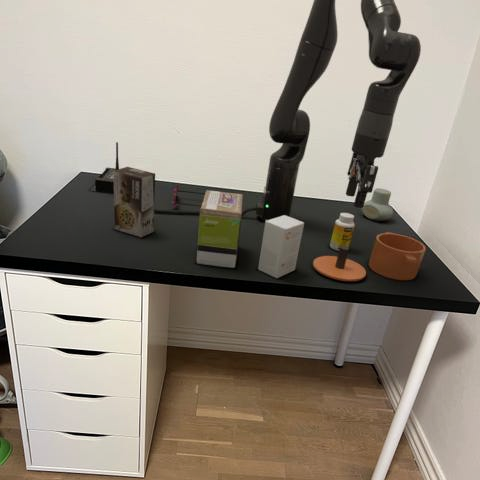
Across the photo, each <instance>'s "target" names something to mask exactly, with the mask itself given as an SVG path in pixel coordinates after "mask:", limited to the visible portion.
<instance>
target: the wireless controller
mask: <svg viewBox="0 0 480 480" xmlns="http://www.w3.org/2000/svg"><path fill="white" fill-rule="evenodd" d="M119 169H120V164H119V142H118V141H117V142H115V168H114V167H106V168H105V169H104V171H102V172H101V174H99V176H97V177H96V178H95V179H94V186H93V187H92V188H91V189H90V191H91V192H96V193H97V192H98V193H105V194H113V195H114V176H113V171H116V170H119Z"/></svg>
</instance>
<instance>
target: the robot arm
mask: <svg viewBox="0 0 480 480" xmlns="http://www.w3.org/2000/svg"><path fill="white" fill-rule="evenodd" d="M360 14H361V18H362V20H363V23H364V27H365V28H366V31H367V42H368V45H367V46H368V50H367V51H368V59H369V62H370V63H371V64H372V65H373V66H374V67H375V68H377V69H381V70H387V71H389V72H388V74H387V76H386V77H385V78H384V79H382V80H375V81H372V82H371V83H369V86H368V88H367V92H366V96H365V99H364V104H363V108H362V110H361V113H360V115H359V119H358V123H357V126H356V130H355V133H354V138H353V142H352V145H351V151H352V156H351V159H350V163H349V166H348V170H347V173H346V175H347V176H348V177H347V179H348V183H347V187H346V190H345V195H346V196H347V197H355V198H354V202H353V206H354V207H355V208H359V209H362V208H363V206H364V203H365V202H366V199H367V195H368V193H370V194H371V193H372V192H373V191H374V190H373V189H374V186H375V182H376V179H377V174H378V171H379V165H375V160H376V159H377V158H378V159H380V158H382V157H384V155H385V151H386V148H387V144H388V141H389V137H390V134H391V131H392V127H393V124H394V123H393V122H394V117H395V113H396V109H397V106H398V103H399V99H400V96H401V94H402V92H403V91H404V88H405V87H406V85H407V83H408V81H409V79H410V78H411V76H412V74H413V73H414V71H415V69H416V67H417V65H418V62H419V60H420V57H421V51H422V45H421V40H420V38H419V37H418V36H417V35H415V34H413V33H408V32H400V31H399V30H400V28H401V24H402V18H401V14H400V12H399V9H398V7H397V4H396V1H395V0H360ZM337 43H338V22H337V11H336V0H313V1H312V5H311V9H310V12H309V14H308V18H307V21H306V24H305V26H304V28H303V31H302V34H301V37H300V40H299V42H298V46H297V49H296V52H295V55H294V59H293V61H292V65H291V66H290V67H291V68H290V70H289V73H288V76H287V78H286V81H285V84H284V86H283V89H282V92H281V93H280V96H279V98H278V100H277V103H276V105H275V106H274V109H273V112H272V114H271V117H270V120H269V125H268V134H269V137H270V139H271V140H272V141H273V142H274V143H275V144H281V145H280V147H279V148H278V149H276V151H274V152H272V153H271V154H270V157H269V161H268V168H267V174H266V180H265V186H264V187H263V191H262V192H263V193H262V199H261V202H260V201H259V202H258V201H256V202H255V206H253V207H248V208H245V209H244V210H242V216H241V218H242V217H244V216H245V214H247V213H249V212H254V211H255V213H256V215H258V216H259V218H260V221H261V222H264V223H265V221H267V220H270V219H274V218H277V217H280V216H283V215H285V216H288V217H291V212H292V206H293V201H294V196H295V191H296V186H297V181H298V180H297V179H298V174H299V169H300V164H301V162H302V161H303V159H304V157H305V154H306V149H307V146H308V141H309V136H310V132H311V120H310V117H309V114H308V112H306V111H305V110H303V109H300V106H301V104H302V102H303V100H304V98H305V97H306V95H307V94H308V93H309V91H310V90H311V89H312V88H313V87H314V86H315V84H316V83H317V82H318V81H319V80H320V78H322V76H323V75H324V73H325V72H326V71H327V69H328V67H329V64H330V62H331V60H332V58H333V54H334V52H335V49H336V47H337ZM154 213H159V214H177V215H178V214H179V215H200V210H176V209H161V208H154Z"/></svg>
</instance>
